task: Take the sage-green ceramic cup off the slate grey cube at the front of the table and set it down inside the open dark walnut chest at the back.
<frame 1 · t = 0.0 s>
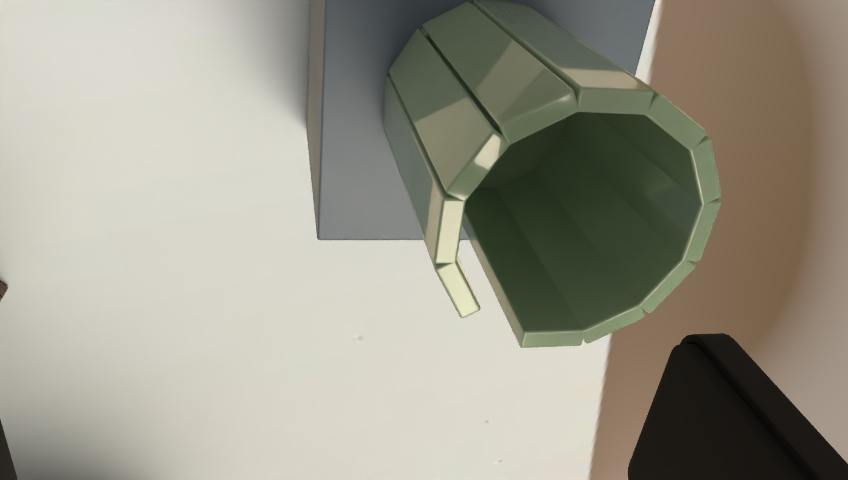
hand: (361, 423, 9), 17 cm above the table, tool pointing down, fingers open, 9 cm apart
slate grey cube: (423, 28, 23), on the table
cup: (482, 104, 17), point 8 cm above the table, touching slate grey cube
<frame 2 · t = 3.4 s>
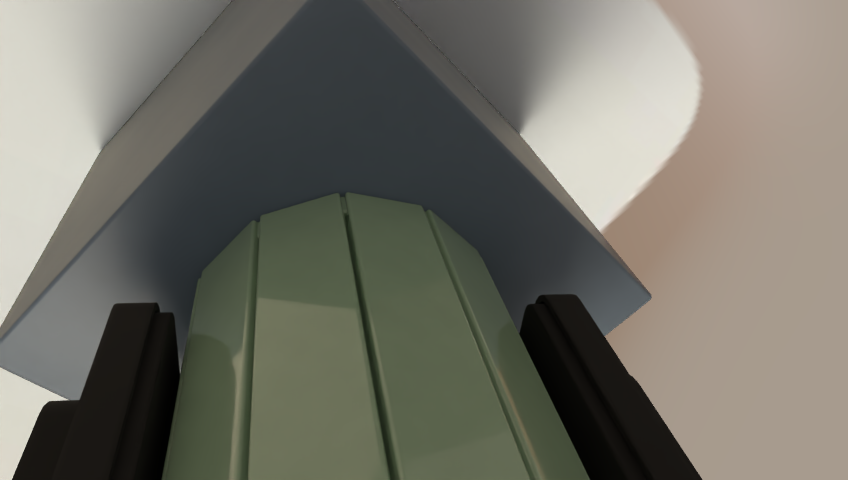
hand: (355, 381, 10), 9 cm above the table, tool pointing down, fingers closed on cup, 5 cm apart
slate grey cube: (321, 144, 18), on the table
cup: (347, 326, 11), point 8 cm above the table, touching gripper, slate grey cube
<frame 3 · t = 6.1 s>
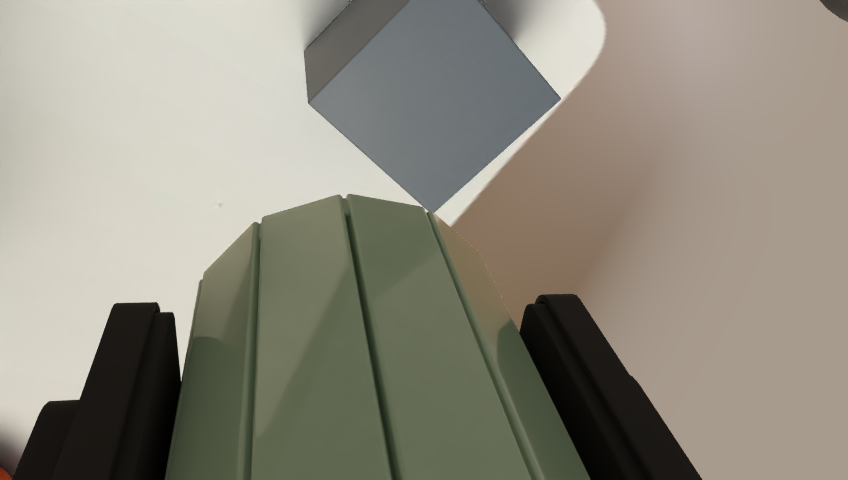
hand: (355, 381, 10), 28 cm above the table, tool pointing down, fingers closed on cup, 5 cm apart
slate grey cube: (410, 51, 36), on the table
cup: (348, 327, 11), point 26 cm above the table, touching gripper
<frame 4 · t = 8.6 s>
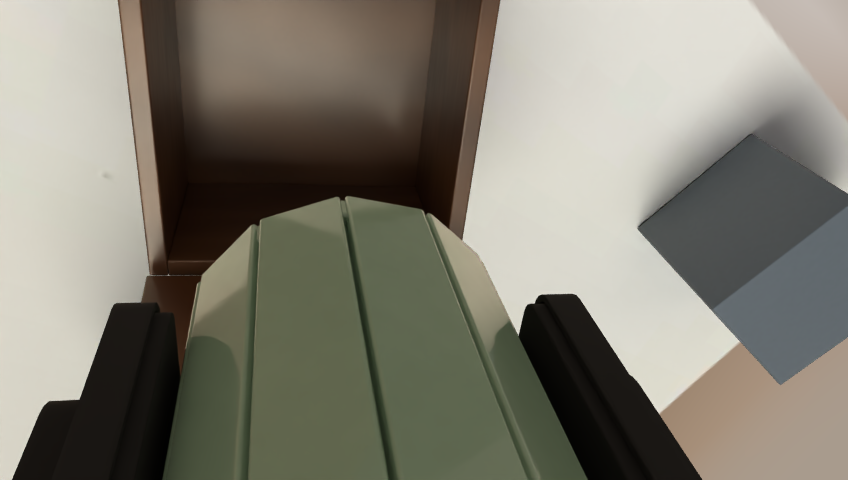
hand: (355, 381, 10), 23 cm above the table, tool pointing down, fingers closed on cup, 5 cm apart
lid: (316, 461, 23), point 15 cm above the table, hinge at 100.0°
slate grey cube: (724, 222, 40), on the table
chest: (308, 58, 30), on the table
cup: (347, 330, 11), point 22 cm above the table, touching gripper
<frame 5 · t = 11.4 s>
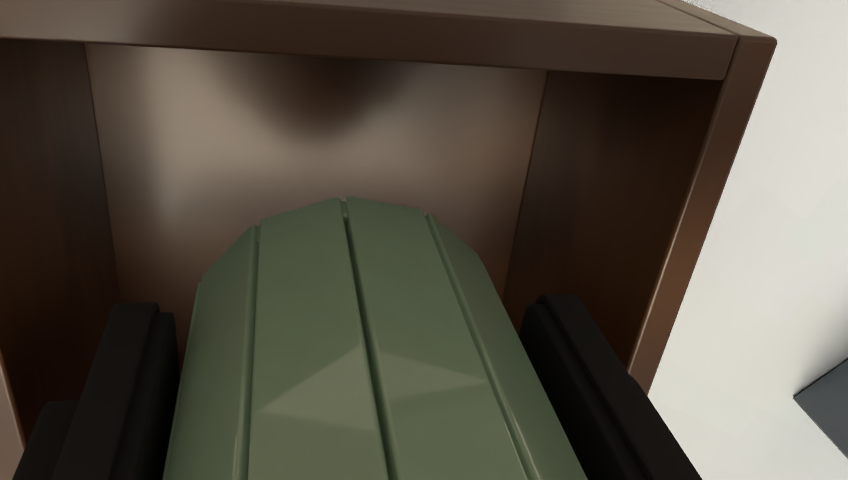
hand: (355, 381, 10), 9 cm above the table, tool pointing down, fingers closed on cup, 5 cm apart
chest: (325, 197, 19), on the table
cup: (347, 330, 11), point 8 cm above the table, touching gripper
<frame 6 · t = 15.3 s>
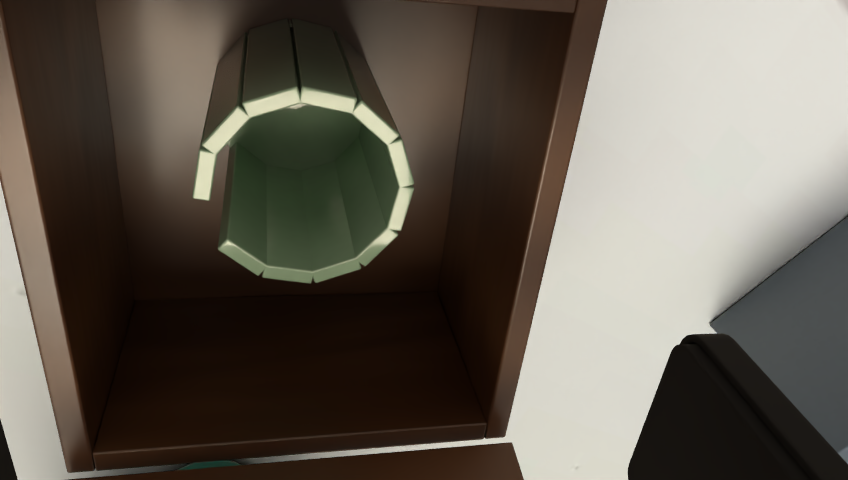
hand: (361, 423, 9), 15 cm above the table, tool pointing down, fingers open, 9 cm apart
slate grey cube: (813, 312, 32), on the table
chest: (294, 136, 22), on the table
cup: (296, 101, 21), point 1 cm above the table, touching chest
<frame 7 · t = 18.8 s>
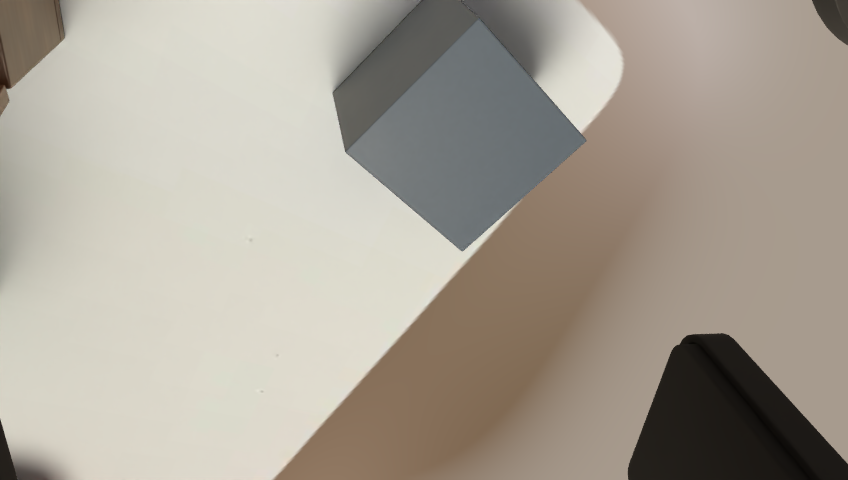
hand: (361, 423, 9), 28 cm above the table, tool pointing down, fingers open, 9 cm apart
slate grey cube: (434, 90, 37), on the table
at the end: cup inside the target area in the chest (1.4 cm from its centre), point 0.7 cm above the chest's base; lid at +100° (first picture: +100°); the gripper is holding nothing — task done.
